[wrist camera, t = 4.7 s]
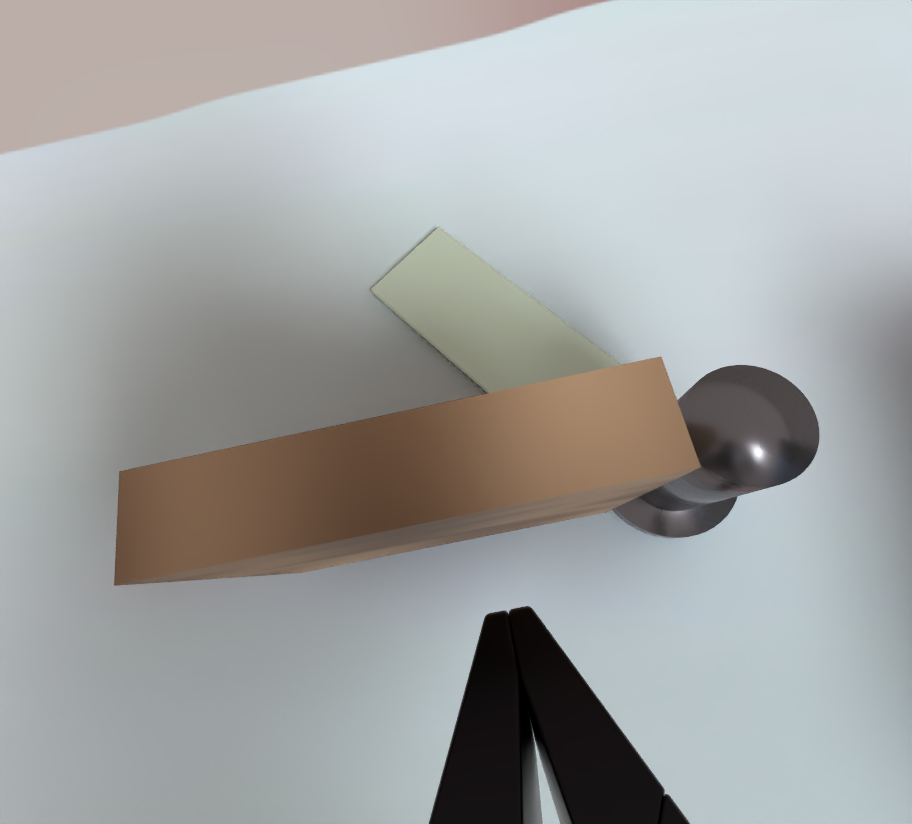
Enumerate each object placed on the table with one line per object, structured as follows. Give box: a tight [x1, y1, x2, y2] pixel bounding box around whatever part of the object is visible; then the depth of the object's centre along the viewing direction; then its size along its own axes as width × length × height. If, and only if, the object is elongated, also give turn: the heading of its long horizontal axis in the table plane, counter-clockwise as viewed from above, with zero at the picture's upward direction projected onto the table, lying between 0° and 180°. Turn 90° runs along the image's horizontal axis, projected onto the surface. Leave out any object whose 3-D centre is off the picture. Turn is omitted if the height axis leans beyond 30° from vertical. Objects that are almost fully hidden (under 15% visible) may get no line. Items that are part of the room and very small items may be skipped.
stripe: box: [370, 227, 620, 393], centre depth 18 cm, size 10×4×1 cm, turn 45°
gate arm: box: [114, 357, 701, 585], centre depth 12 cm, size 10×2×8 cm, turn 101°
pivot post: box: [613, 365, 819, 538], centre depth 13 cm, size 4×4×6 cm
